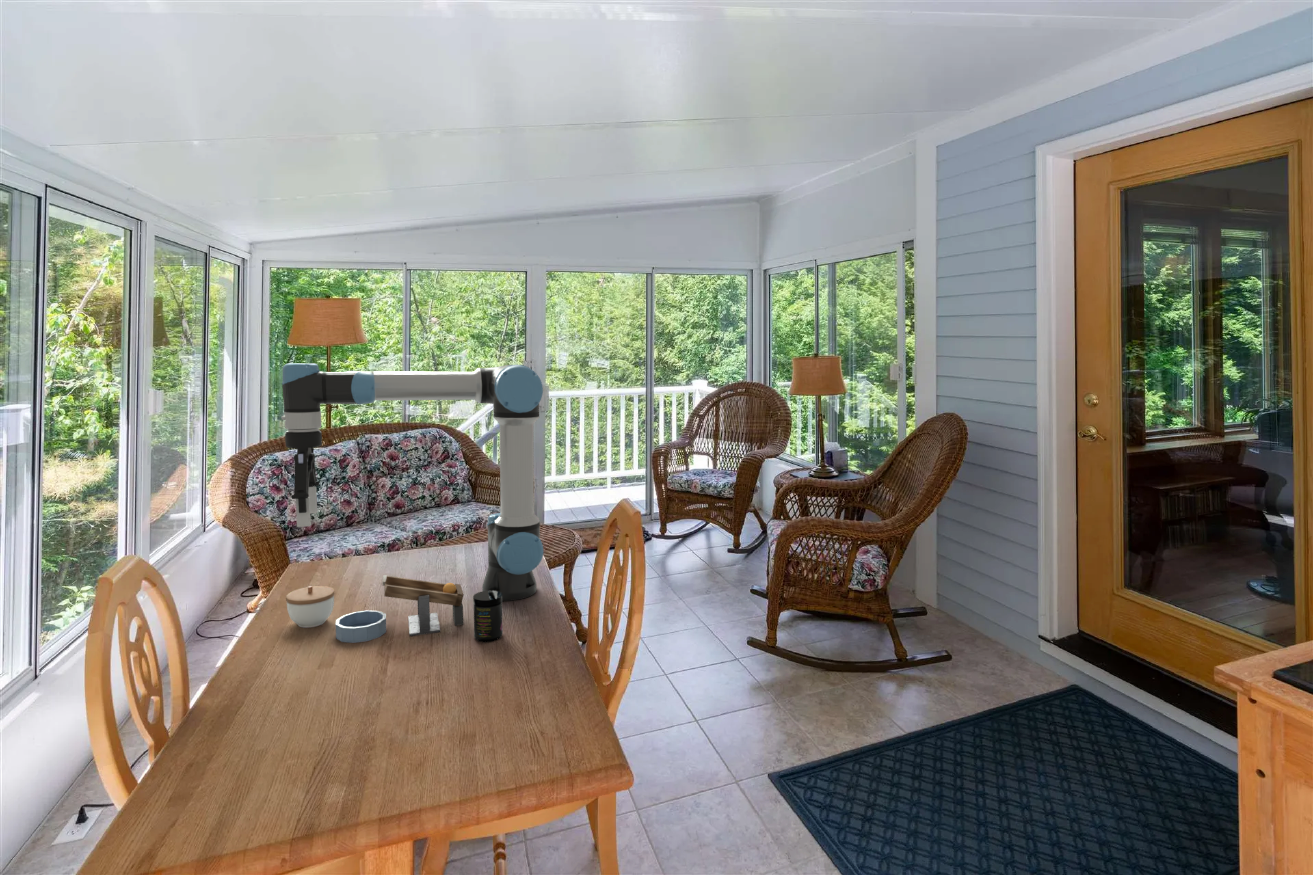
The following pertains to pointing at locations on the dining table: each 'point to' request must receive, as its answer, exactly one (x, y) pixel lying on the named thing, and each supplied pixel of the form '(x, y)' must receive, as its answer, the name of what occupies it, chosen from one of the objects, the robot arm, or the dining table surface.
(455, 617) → the block
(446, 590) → the ball
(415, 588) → the lever
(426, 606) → the pivot stand
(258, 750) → the dining table surface
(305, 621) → the lidded jar
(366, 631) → the bowl
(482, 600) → the supplement container
